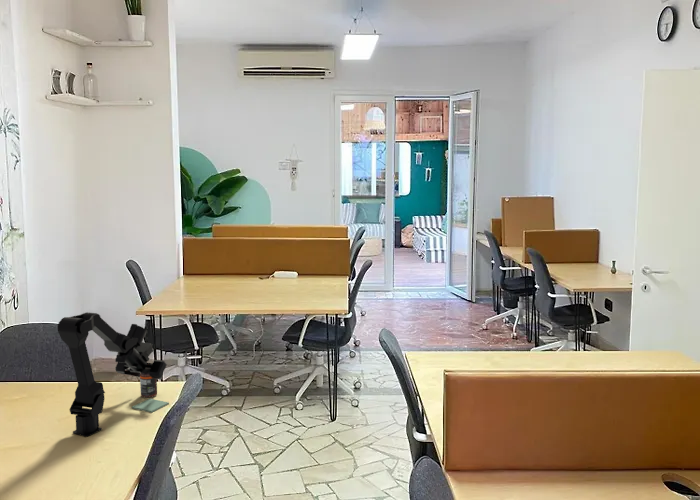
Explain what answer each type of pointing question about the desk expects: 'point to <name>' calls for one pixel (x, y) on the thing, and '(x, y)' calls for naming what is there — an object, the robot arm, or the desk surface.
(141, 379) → the supplement bottle
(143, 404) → the mat
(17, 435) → the desk surface
